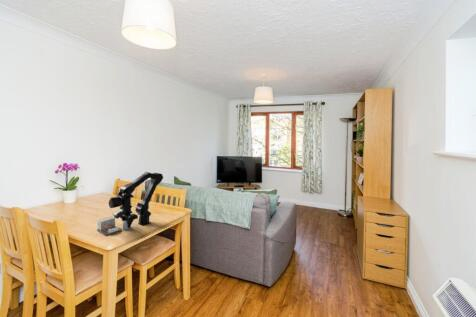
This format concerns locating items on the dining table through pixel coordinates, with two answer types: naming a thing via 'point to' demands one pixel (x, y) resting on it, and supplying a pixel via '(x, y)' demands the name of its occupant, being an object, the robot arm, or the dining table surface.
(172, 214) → the dining table surface
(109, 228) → the motor mount
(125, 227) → the grey round-ended capsule
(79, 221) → the dining table surface
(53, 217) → the dining table surface
